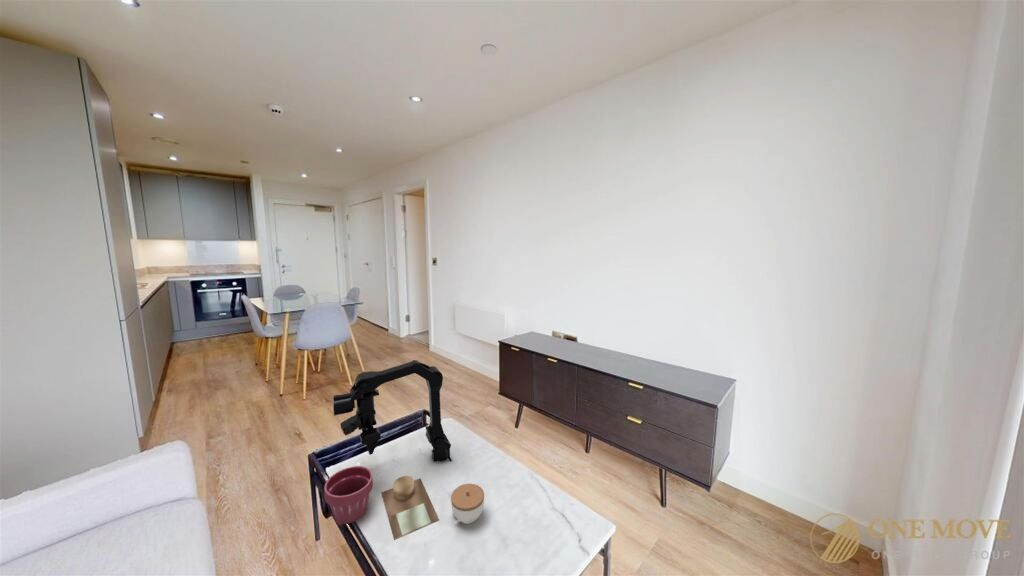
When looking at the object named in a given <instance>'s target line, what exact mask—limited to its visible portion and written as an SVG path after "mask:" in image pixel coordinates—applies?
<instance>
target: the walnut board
mask: <svg viewBox="0 0 1024 576" xmlns="http://www.w3.org/2000/svg"><path fill="white" fill-rule="evenodd" d="M414 490H415V492H414V494H413V496H412V497H411V498H409V499H407V500H404V501H399V500H396V499H395V498H394V490H393V487H392V488H390V489H386V490H384V491H381V492H380V493H381V497H382V500H383V505H384V507H385V512H386V514H387V515H386V516H387V519H388V523H389V526H390V530H391V534H392V537H393V541H396V540H398V539H400V538H402V537H404V536H407V535H409V534H412V533H414V532H416V531H419V530H421V529H423V528H425V527H427V526H430V525H432V524H434V523H437V522H439V521H440V518H439V516H438V514H437V512H436V509H435V508H434V505H433V503H432V501H431V498H430V497H429V496H430V495H429V494H428V492H427V490H426V486H425V485H424V483H423V481H422V479H421V478H417V479H414Z"/></svg>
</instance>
